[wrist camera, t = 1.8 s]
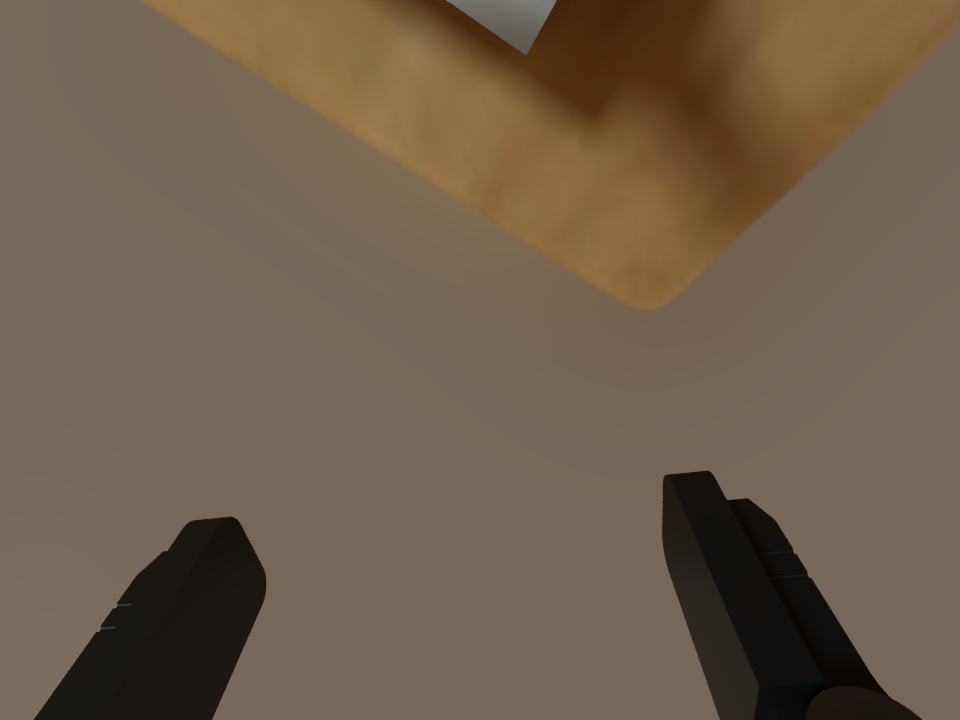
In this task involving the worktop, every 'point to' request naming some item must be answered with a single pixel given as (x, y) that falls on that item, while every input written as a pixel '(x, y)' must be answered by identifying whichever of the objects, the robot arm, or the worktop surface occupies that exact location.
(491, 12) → the gray socket block
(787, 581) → the robot arm
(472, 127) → the worktop surface
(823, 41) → the worktop surface
